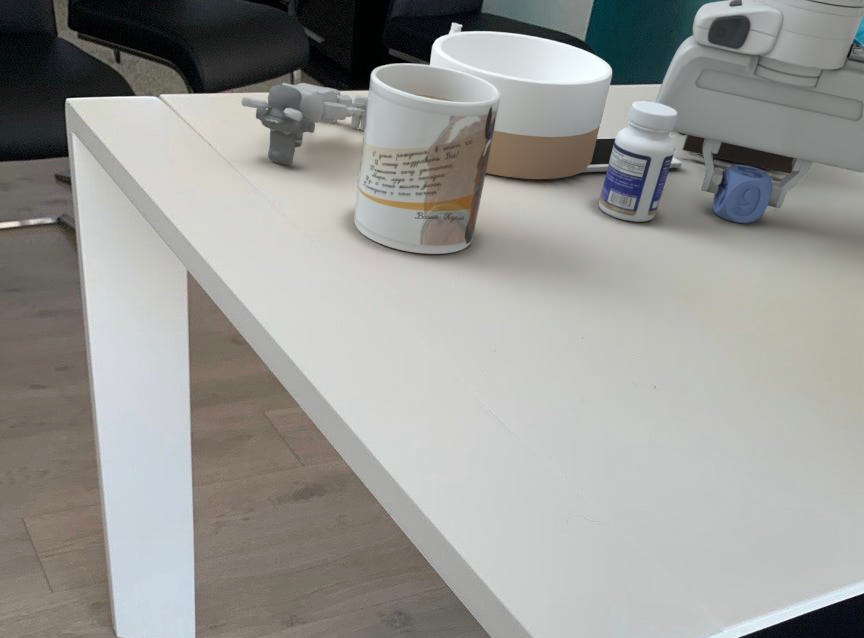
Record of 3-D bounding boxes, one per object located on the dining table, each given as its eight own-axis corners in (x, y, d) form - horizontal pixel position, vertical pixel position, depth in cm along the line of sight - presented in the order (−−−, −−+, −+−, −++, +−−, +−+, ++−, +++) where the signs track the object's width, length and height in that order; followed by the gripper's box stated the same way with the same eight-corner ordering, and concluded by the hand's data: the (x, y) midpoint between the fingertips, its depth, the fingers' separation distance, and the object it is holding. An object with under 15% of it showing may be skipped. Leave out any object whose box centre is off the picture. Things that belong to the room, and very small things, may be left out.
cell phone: (681, 168, 105) (683, 162, 105) (556, 174, 98) (558, 168, 98) (634, 142, 110) (636, 136, 110) (512, 146, 103) (513, 140, 103)
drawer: (792, 186, 103) (820, 115, 99) (681, 162, 105) (704, 90, 100) (785, 139, 117) (809, 74, 112) (686, 118, 118) (706, 52, 113)
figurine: (307, 145, 103) (228, 157, 88) (317, 76, 100) (237, 76, 85) (375, 163, 102) (307, 178, 87) (387, 94, 99) (318, 97, 84)
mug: (323, 212, 83) (338, 63, 76) (431, 194, 90) (454, 55, 83) (407, 263, 78) (431, 107, 71) (515, 240, 85) (548, 96, 77)
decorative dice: (749, 210, 99) (764, 167, 96) (759, 226, 96) (776, 182, 93) (709, 204, 98) (723, 161, 96) (718, 220, 95) (734, 176, 93)
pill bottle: (634, 200, 96) (664, 99, 90) (665, 223, 93) (698, 118, 87) (586, 201, 94) (613, 97, 89) (615, 223, 91) (646, 117, 85)
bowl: (579, 193, 95) (602, 96, 89) (401, 156, 97) (412, 59, 91) (601, 140, 107) (622, 52, 102) (443, 108, 110) (455, 20, 104)
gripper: (918, 50, 88) (848, 212, 97) (683, 2, 90) (636, 164, 99) (928, 66, 83) (854, 234, 93) (681, 15, 86) (632, 184, 95)
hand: (740, 198), depth 96 cm, fingers closed on decorative dice, 4 cm apart
